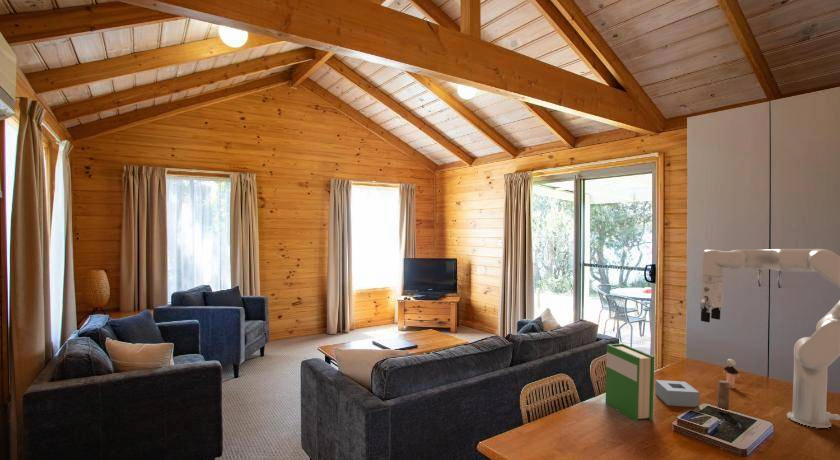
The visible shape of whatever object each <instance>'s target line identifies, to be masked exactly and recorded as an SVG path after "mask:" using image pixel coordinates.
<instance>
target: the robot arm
mask: <svg viewBox="0 0 840 460" xmlns="http://www.w3.org/2000/svg"><path fill="white" fill-rule="evenodd" d="M701 264H702V265H701V283H702V287H701V295H700V298H701V299H700V321H701V322H703V323H704V322H705V323H710V322H711V319H713V320H721V309H722V307H723V305H724V288H723V284H724V270H725V269H730V270H741V269H743V268H745V269H748V268H749V269H753V268H754V269H755V268H756V269H767V270H772V271H778V272H816V273H817V274H818V275H820V276H822V278H824V279H826V280H827V281H829V282H830V283H831V284H833V285H834V286H836V287H838V289H840V255H838V254H837V253H836V252H833V251H832V250H829V249H825V248H772V249H732V250H728V251H725V250H719V249H704V250H703V251H702V263H701ZM710 311H711V312H710ZM839 357H840V299H839V300H838V302H837V303H836V304H835V305H834V306H833V307H832V308H831V309H830V310H829V311H828V312H827V313H826V314H825V315H824V316H822V318H820V320H818V322H817V323H816V326H815V332H814V333H812V335H811V336H805V337H802V338H801V337H800V338H799V339H798V340H797V341H796V342H795V343H794V345H793V383H792V411H788V412H787V413H786V417H787V419H789V418H790V419H791V420H793V421H795V422H798V423H800V424H799V425H801V424H803V425H802V426H804V425H807V426H806V427H808V426H810V427H809V428H812V427H816V428H815V429H818V428H828V427H831V428H832V423H831V422H830V421H832V420H835V421H840V414H837V413H831V412H830V411H827V397H828V393H827V392H828V367H829V366H830V365H832V363H834V362H835V361H836V360H837V359H838V358H839ZM790 419H789V420H790ZM791 420H790V421H791ZM793 421H792V422H793ZM795 422H794V423H795ZM798 423H797V424H798ZM828 429H829V428H828Z"/></svg>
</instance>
